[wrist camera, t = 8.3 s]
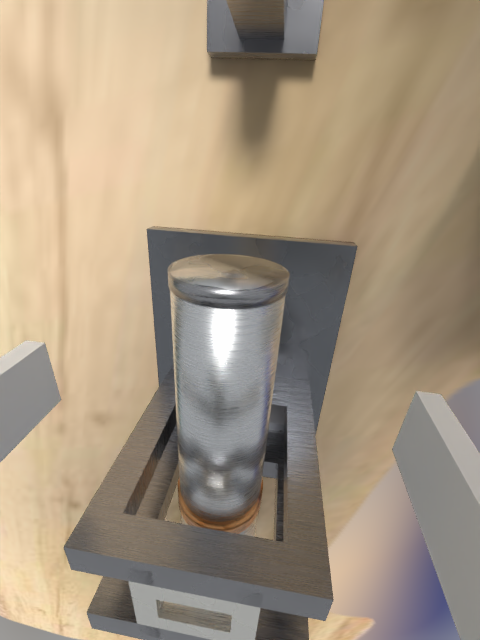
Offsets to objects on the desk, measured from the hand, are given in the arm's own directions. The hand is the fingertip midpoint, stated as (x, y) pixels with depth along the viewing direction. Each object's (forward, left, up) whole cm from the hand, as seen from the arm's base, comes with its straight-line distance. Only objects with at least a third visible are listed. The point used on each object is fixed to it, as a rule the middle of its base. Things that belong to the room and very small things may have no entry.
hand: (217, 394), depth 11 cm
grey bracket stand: (+4, 0, -10) cm, 11 cm away
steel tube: (+5, 0, -5) cm, 7 cm away
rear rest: (-13, 0, -10) cm, 17 cm away
